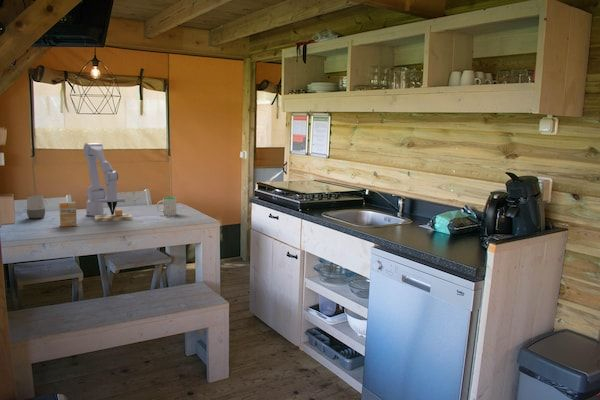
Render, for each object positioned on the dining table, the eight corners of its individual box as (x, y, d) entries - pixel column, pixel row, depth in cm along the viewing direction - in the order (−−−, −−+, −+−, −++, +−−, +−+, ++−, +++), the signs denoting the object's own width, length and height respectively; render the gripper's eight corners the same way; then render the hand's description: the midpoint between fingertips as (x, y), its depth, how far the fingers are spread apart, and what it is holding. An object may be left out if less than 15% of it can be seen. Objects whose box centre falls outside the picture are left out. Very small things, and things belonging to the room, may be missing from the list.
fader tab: (115, 215, 285) (115, 210, 285) (115, 214, 289) (114, 209, 288) (122, 215, 287) (122, 210, 286) (122, 214, 290) (121, 209, 290)
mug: (158, 216, 299) (158, 199, 297) (155, 214, 306) (155, 197, 304) (178, 214, 305) (177, 198, 303) (174, 212, 312) (174, 196, 310)
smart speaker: (40, 216, 292) (38, 193, 290) (48, 217, 287) (47, 194, 285) (24, 218, 284) (22, 194, 282) (32, 220, 279) (31, 196, 277)
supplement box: (60, 227, 263) (59, 203, 261) (60, 225, 268) (59, 202, 266) (77, 225, 267) (75, 202, 265) (76, 224, 271) (75, 201, 269)
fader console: (94, 221, 279) (94, 218, 278) (94, 218, 288) (94, 215, 287) (131, 219, 286) (131, 216, 286) (130, 216, 295) (130, 213, 295)
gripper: (98, 193, 278) (99, 216, 280) (125, 192, 283) (125, 215, 286) (98, 191, 284) (99, 214, 286) (124, 190, 290) (125, 212, 292)
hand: (112, 214), depth 286 cm, fingers closed
